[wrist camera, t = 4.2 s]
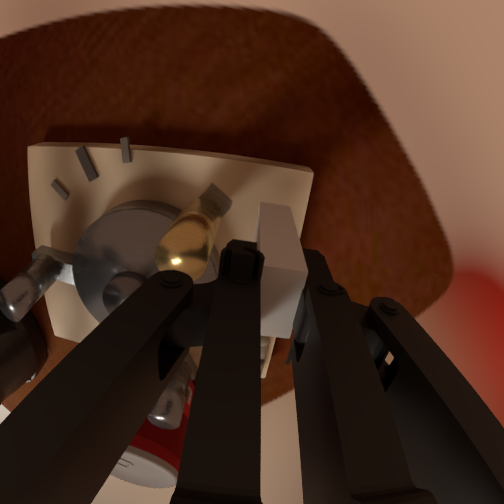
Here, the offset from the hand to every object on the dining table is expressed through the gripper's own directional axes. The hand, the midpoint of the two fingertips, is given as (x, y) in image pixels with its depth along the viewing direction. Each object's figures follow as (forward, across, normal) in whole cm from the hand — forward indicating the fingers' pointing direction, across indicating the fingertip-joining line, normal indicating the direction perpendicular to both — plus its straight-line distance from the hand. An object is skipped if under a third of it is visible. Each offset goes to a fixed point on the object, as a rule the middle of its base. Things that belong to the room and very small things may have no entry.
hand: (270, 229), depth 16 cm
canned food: (+6, -8, -20) cm, 22 cm away
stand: (+6, -8, -6) cm, 11 cm away
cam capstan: (+3, -7, -5) cm, 9 cm away
